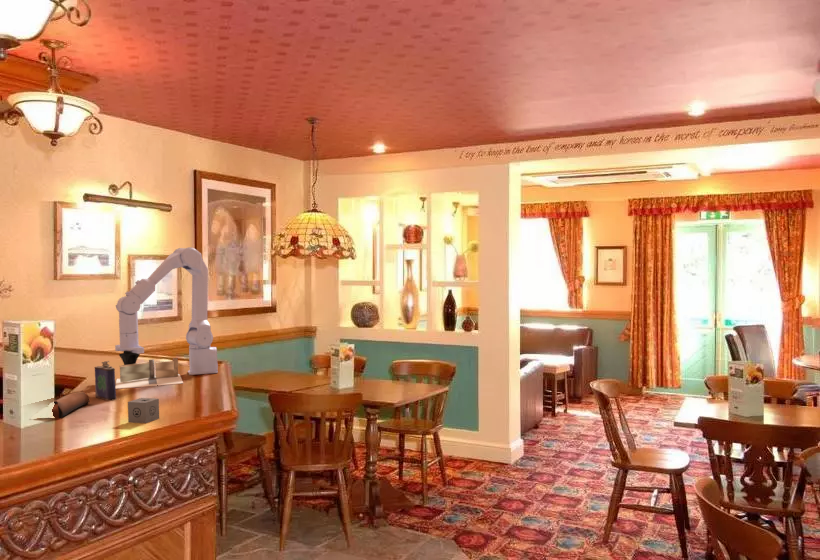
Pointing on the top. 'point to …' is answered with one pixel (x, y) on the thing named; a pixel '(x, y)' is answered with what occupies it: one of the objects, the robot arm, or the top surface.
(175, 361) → the base
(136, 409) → the grey face cube
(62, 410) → the sunglasses case
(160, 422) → the top surface
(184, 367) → the top surface
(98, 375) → the flask
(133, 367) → the panel
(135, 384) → the card
